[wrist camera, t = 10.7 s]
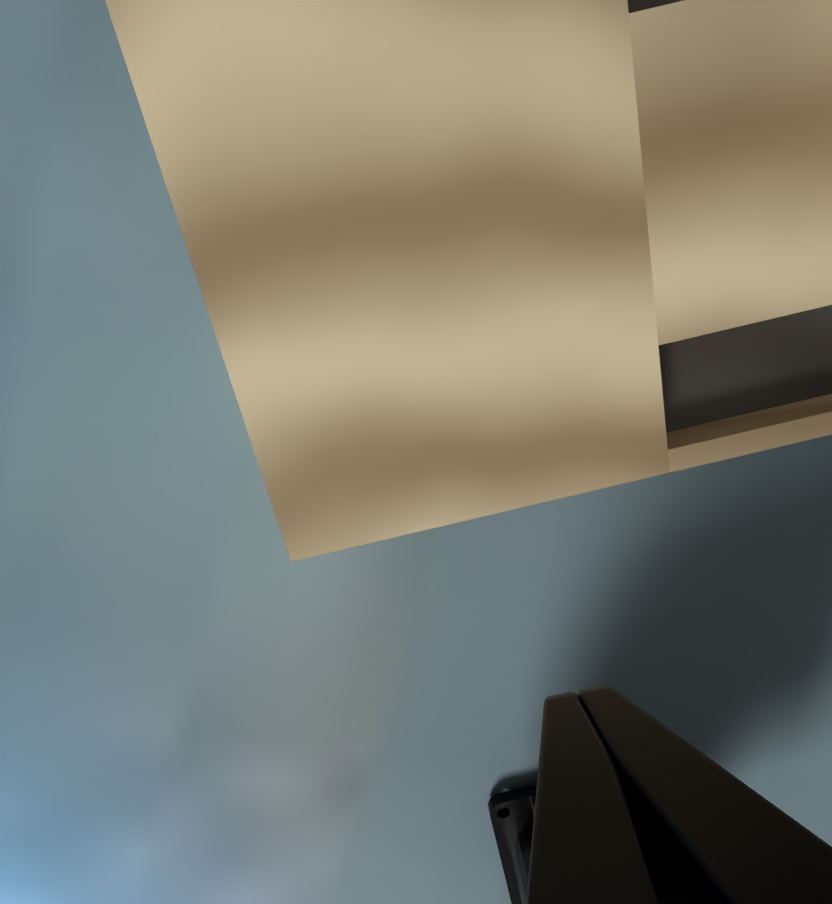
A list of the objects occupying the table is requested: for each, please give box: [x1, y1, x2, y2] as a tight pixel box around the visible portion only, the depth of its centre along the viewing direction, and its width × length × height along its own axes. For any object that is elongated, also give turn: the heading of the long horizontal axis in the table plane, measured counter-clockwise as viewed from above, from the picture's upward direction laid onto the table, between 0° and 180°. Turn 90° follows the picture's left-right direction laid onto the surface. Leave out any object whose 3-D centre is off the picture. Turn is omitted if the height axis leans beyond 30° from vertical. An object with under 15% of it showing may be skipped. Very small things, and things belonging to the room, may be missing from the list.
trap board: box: [105, 0, 832, 561], centre depth 15 cm, size 15×28×5 cm, turn 102°
